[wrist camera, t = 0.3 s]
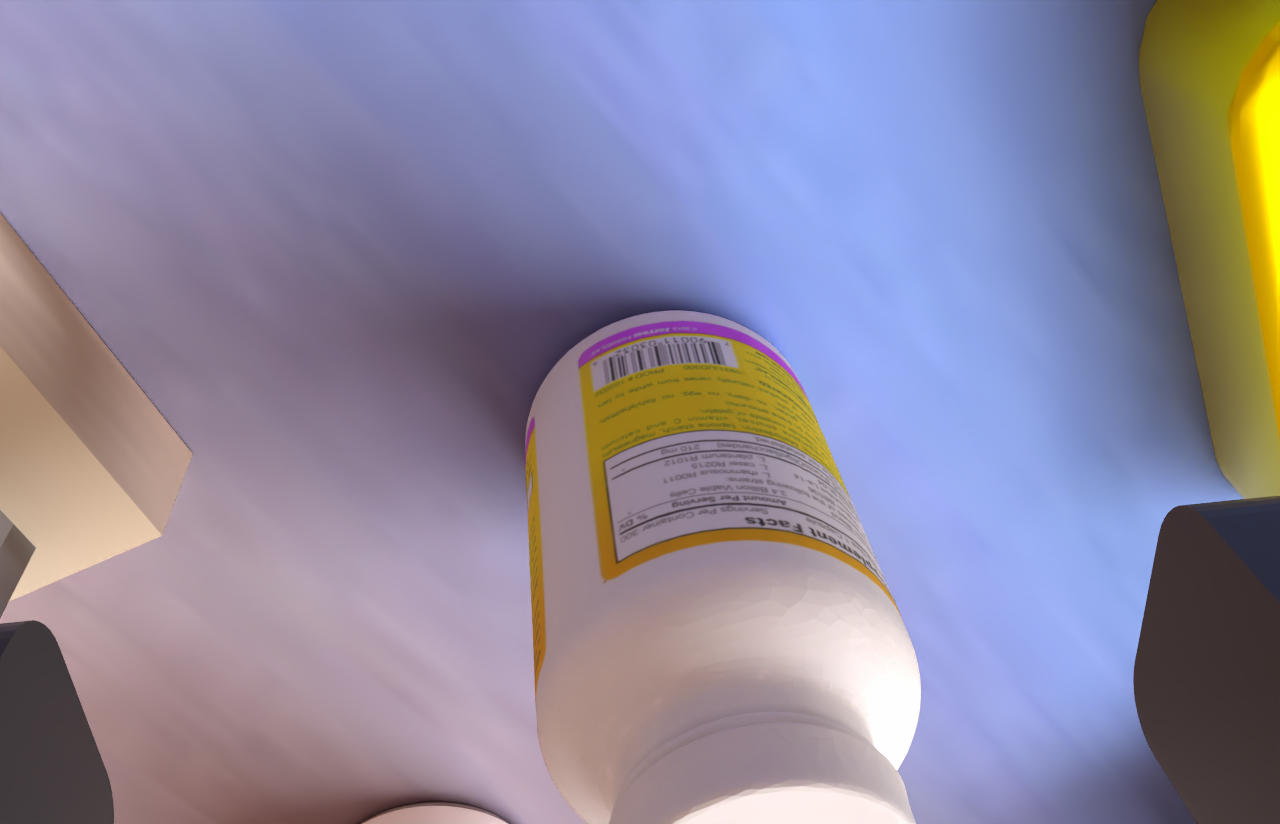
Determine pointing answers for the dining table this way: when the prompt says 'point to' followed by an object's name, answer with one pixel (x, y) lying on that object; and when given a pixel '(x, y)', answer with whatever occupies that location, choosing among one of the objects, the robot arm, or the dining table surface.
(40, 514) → the button panel
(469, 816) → the can
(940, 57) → the dining table surface
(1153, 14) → the element tile
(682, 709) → the supplement bottle
